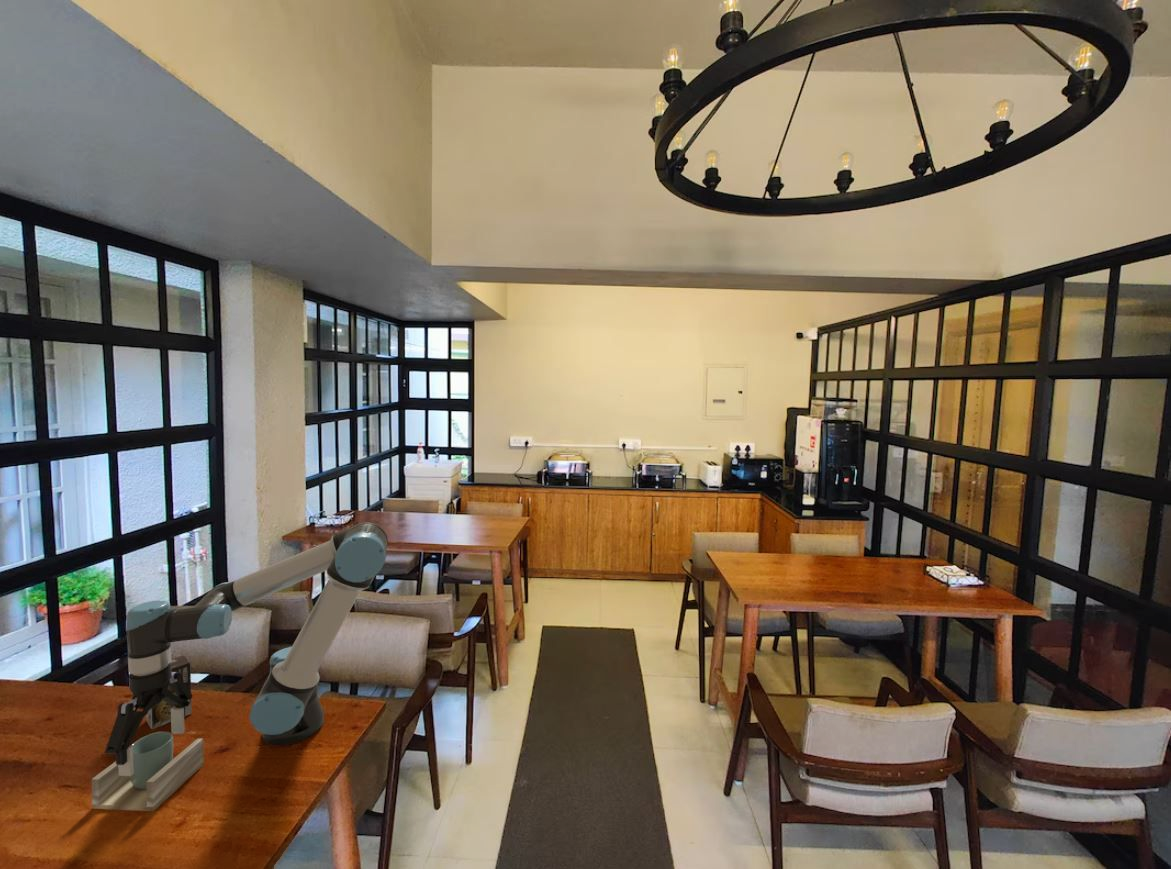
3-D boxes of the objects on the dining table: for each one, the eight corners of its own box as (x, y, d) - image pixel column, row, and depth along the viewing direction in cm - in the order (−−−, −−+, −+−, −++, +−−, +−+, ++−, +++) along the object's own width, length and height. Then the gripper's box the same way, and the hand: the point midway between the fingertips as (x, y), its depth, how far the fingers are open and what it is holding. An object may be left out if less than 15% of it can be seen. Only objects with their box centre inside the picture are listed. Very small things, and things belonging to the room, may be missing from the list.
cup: (146, 798, 109) (145, 756, 109) (120, 791, 111) (119, 750, 110) (181, 773, 117) (181, 734, 116) (156, 766, 119) (156, 728, 118)
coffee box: (185, 705, 144) (185, 654, 143) (192, 714, 140) (191, 661, 139) (145, 720, 136) (144, 666, 135) (151, 730, 133) (150, 675, 132)
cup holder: (203, 764, 121) (203, 738, 121) (153, 811, 107) (153, 781, 107) (149, 762, 121) (148, 736, 121) (92, 808, 107) (91, 779, 107)
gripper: (179, 641, 125) (182, 717, 126) (78, 700, 100) (83, 794, 101) (207, 641, 125) (210, 718, 126) (113, 701, 100) (118, 795, 101)
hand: (153, 752), depth 114 cm, fingers open, 13 cm apart
